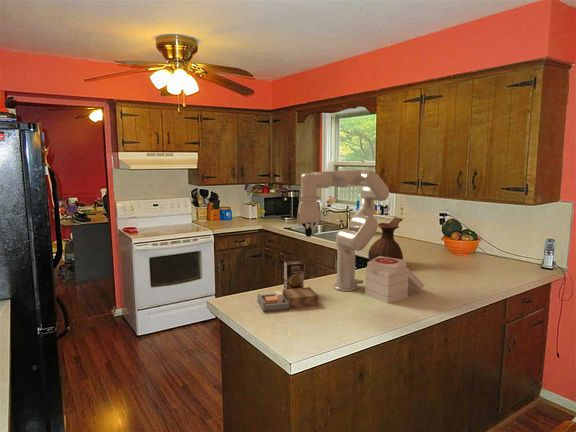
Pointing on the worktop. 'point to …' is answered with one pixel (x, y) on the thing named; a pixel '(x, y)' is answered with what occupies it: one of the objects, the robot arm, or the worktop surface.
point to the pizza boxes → (389, 279)
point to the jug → (386, 242)
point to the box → (272, 306)
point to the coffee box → (293, 275)
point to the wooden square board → (300, 297)
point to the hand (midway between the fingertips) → (308, 236)
